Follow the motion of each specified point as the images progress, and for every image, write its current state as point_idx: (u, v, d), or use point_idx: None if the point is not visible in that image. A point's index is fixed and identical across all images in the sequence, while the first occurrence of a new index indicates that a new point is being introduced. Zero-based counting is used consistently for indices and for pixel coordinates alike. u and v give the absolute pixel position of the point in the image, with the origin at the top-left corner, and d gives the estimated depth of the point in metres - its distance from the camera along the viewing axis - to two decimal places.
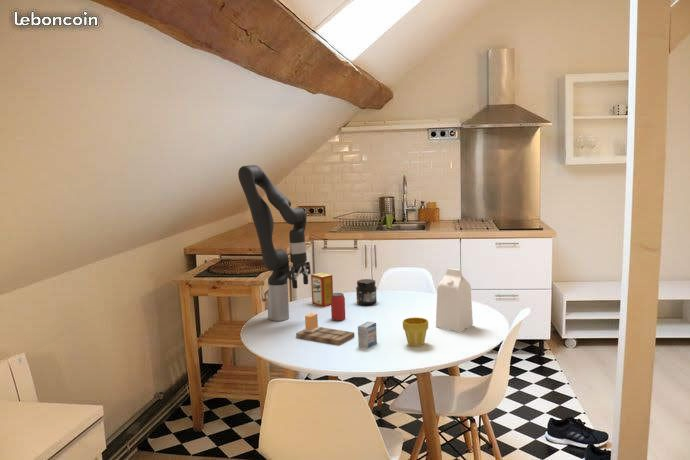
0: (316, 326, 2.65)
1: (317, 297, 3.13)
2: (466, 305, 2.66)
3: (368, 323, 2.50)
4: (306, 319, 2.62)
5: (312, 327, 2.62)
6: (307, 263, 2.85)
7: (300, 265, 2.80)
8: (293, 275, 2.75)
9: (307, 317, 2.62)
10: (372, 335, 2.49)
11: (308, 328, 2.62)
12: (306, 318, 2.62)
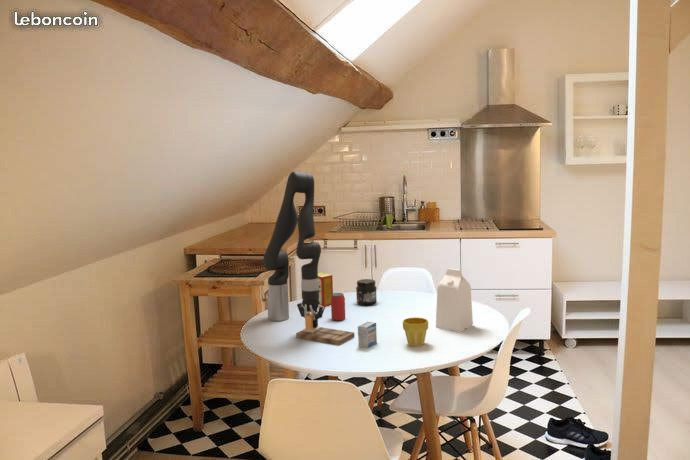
0: None
1: None
2: (466, 305, 2.66)
3: (368, 323, 2.50)
4: (306, 319, 2.62)
5: (312, 327, 2.62)
6: None
7: None
8: None
9: (307, 317, 2.62)
10: (372, 335, 2.49)
11: (308, 328, 2.62)
12: (306, 318, 2.62)
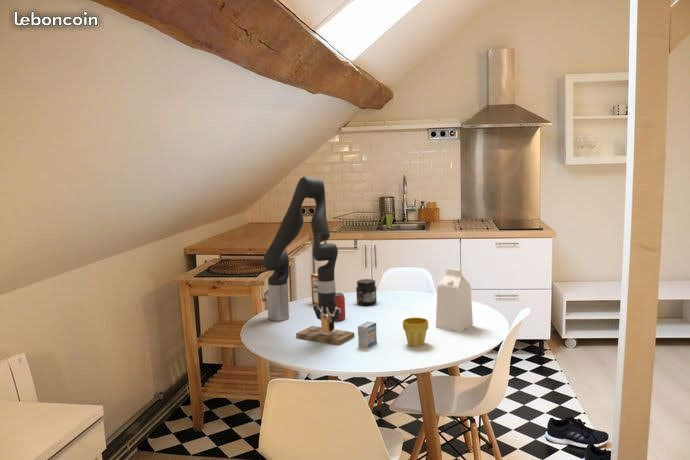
0: None
1: (317, 297, 3.13)
2: (466, 305, 2.66)
3: (368, 323, 2.50)
4: (322, 322, 2.57)
5: (328, 330, 2.58)
6: None
7: None
8: None
9: (323, 320, 2.57)
10: (372, 335, 2.49)
11: (324, 331, 2.57)
12: (322, 321, 2.57)
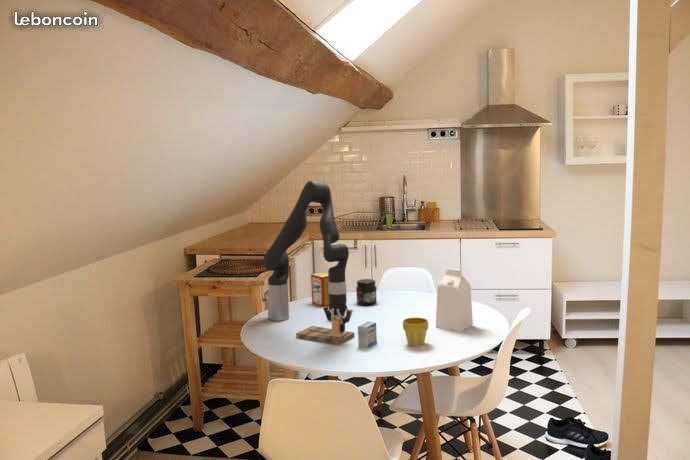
0: None
1: (317, 297, 3.13)
2: (466, 305, 2.66)
3: (368, 323, 2.50)
4: (333, 323, 2.55)
5: (339, 331, 2.55)
6: None
7: None
8: None
9: (334, 321, 2.54)
10: (372, 335, 2.49)
11: (335, 332, 2.55)
12: (333, 322, 2.54)
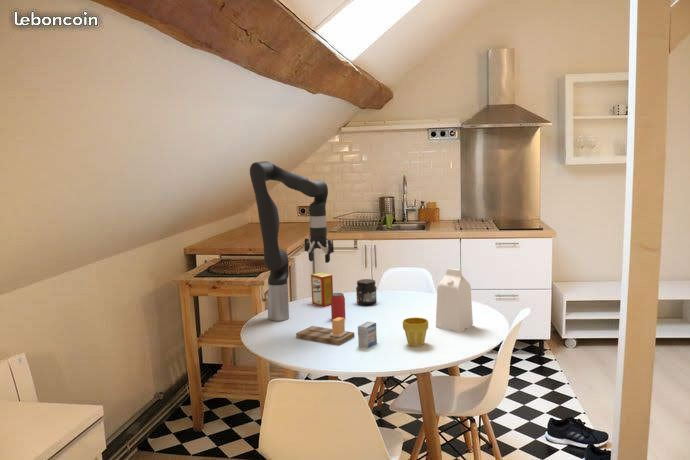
0: (343, 330, 2.57)
1: (317, 297, 3.13)
2: (466, 305, 2.66)
3: (368, 323, 2.50)
4: (333, 323, 2.55)
5: (339, 331, 2.55)
6: None
7: None
8: (332, 248, 2.69)
9: (334, 321, 2.54)
10: (372, 335, 2.49)
11: (335, 332, 2.55)
12: (333, 322, 2.54)
